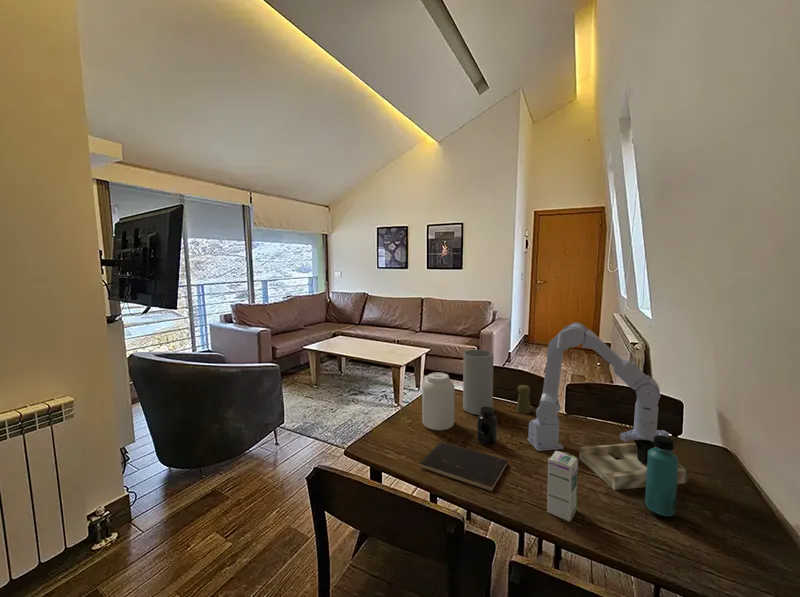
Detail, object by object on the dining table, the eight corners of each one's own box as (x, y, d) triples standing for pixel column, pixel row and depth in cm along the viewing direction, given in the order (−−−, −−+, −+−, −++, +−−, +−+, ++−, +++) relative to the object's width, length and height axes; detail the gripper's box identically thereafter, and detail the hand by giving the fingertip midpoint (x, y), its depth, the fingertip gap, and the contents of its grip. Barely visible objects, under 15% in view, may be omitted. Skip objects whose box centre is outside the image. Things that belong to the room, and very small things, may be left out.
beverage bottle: (677, 526, 86) (683, 447, 84) (643, 516, 90) (648, 440, 88) (673, 510, 92) (679, 436, 90) (642, 501, 95) (647, 429, 93)
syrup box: (570, 522, 88) (572, 467, 86) (545, 512, 92) (547, 458, 90) (576, 510, 92) (579, 457, 91) (553, 500, 96) (555, 449, 94)
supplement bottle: (475, 444, 126) (475, 411, 125) (478, 435, 132) (479, 404, 131) (495, 447, 123) (496, 414, 122) (497, 438, 130) (498, 406, 128)
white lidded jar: (416, 424, 141) (415, 375, 139) (434, 414, 151) (434, 368, 148) (442, 434, 133) (442, 382, 131) (460, 422, 142) (460, 374, 140)
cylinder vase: (486, 418, 146) (487, 358, 144) (458, 411, 153) (458, 354, 151) (496, 407, 157) (497, 351, 154) (469, 401, 164) (470, 348, 161)
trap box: (614, 489, 100) (615, 476, 100) (579, 458, 116) (579, 447, 116) (687, 482, 103) (689, 469, 102) (643, 453, 119) (644, 442, 118)
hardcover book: (492, 494, 100) (492, 486, 100) (419, 469, 112) (419, 462, 112) (507, 465, 113) (507, 459, 113) (441, 446, 125) (441, 440, 125)
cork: (528, 408, 156) (529, 383, 155) (532, 413, 150) (533, 388, 149) (514, 407, 157) (515, 383, 156) (517, 413, 151) (518, 388, 150)
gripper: (633, 426, 103) (630, 470, 105) (679, 423, 105) (675, 467, 106) (616, 416, 110) (613, 457, 112) (659, 413, 112) (655, 454, 113)
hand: (642, 461), depth 110 cm, fingers closed, pressing on walnut block
